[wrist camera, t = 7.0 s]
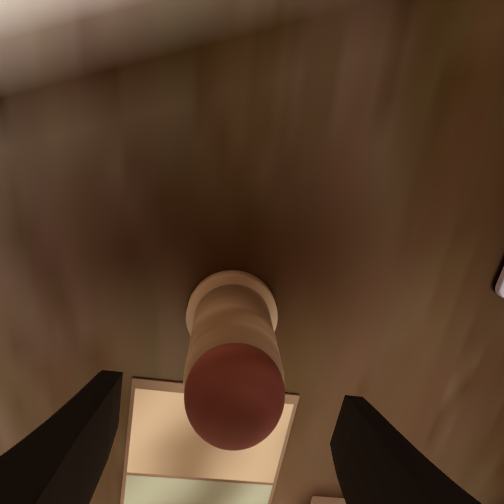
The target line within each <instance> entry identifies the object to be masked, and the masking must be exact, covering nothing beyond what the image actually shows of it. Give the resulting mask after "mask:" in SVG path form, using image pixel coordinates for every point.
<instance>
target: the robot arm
mask: <svg viewBox="0 0 504 504" xmlns="http://www.w3.org/2000/svg"><path fill="white" fill-rule="evenodd" d="M495 292H496V293H497V294H498V295H499V296H501V297H503V298H504V267H503V269H502V272H501V274H500V276H499V279H498V281H497V284H496V286H495ZM122 376H123V372H115V371H106V370H102V371H100V372H99V373H98V374H97V375H96V376H95V377H94V378H93V379H92V380H91V381H90V382H89V383H88V384H87V385H85V386H84V387H83V388H82V389H81V390H80V391H79V392H78V393H77V394H76V395H75V396H74V397H73V398H72V399H70V400H69V401H68V402H67V403H66V404H65V405H64V406H63V407H61V408H60V409H59V410H58V411H57V412H56V413H55V414H53V415H52V416H51V417H50V418H49V419H48V420H46V421H45V422H44V423H43V424H41V425H40V426H39V427H38V428H36V429H35V430H34V431H33V432H31V433H30V434H29V435H28V436H26V437H25V438H24V439H23V440H21V441H20V442H19V443H17V444H16V445H15V446H13V447H12V448H11V449H9V450H8V451H7V452H5V453H4V454H3V455H1V456H0V504H89V503H90V500H91V498H92V496H93V493H94V491H95V489H96V486H97V484H98V482H99V479H100V477H101V475H102V472H103V470H104V467H105V465H106V463H107V460H108V457H109V454H110V451H111V448H112V445H113V441H114V438H115V435H116V431H117V428H118V422H119V410H120V399H121V387H122ZM330 446H331V451H332V456H333V461H334V465H335V470H336V474H337V478H338V481H339V484H340V487H341V490H342V493H343V496H344V499H345V502H346V504H481V503H480V502H479V501H477V500H476V499H475V498H473V497H472V496H471V495H470V494H468V493H467V492H466V491H465V490H463V489H462V488H461V487H459V486H458V485H457V484H456V483H455V482H453V481H452V480H451V479H450V478H449V477H447V476H446V475H445V474H444V473H443V472H442V471H441V470H439V469H438V468H437V467H436V466H435V465H434V464H433V463H432V462H430V461H429V460H428V459H427V458H426V457H425V456H424V455H423V454H422V453H421V452H419V451H418V450H417V449H416V448H415V447H414V446H413V445H412V444H411V443H410V442H409V441H408V440H407V439H406V438H405V437H404V436H403V435H402V434H401V433H400V432H398V431H397V430H396V429H395V428H394V427H393V426H392V425H391V424H390V423H389V422H388V421H387V420H386V419H385V418H384V417H383V416H382V415H381V414H380V413H379V412H378V411H377V410H376V409H375V408H374V407H373V406H372V405H371V404H370V403H369V402H368V401H366V400H365V399H364V398H363V397H358V396H348V395H345V397H344V400H343V403H342V407H341V410H340V413H339V416H338V420H337V423H336V426H335V429H334V433H333V436H332V439H331V442H330Z"/></svg>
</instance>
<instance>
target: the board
mask: <svg viewBox="0 0 504 504" xmlns="http://www.w3.org/2000/svg"><path fill="white" fill-rule="evenodd" d="M299 396H300V395H299V394H289V393H285V403H284V408H283V412H282V415H281V418H280V420H279V422H278V424H277V426H276V427H275V429H274V430H273V431H272V432H271V434H270V435H269V436H268V437H267V438H266V439H264V440H263V441H262V442H260V443H259V444H257V445H255V446H253V447H251V448H248V449H244V450H237V451H229V450H223V449H219V448H217V447H214V446H212V445H210V444H209V443H207V442H206V441H204V440H203V439H202V438H201V437H200V436H199V435H198V434H197V433H196V432H195V430H194V429H193V427H192V426H191V424H190V422H189V420H188V417H187V414H186V411H185V405H184V385H183V382H174V381H165V380H155V379H146V378H136V377H133V378H132V386H131V397H130V407H129V418H128V428H127V439H126V449H125V459H124V470H123V480H122V491H121V501H120V504H271V502H272V498H273V494H274V490H275V487H276V483H277V479H278V475H279V472H280V468H281V464H282V460H283V456H284V453H285V449H286V445H287V441H288V438H289V434H290V430H291V426H292V423H293V419H294V415H295V411H296V408H297V404H298V400H299Z"/></svg>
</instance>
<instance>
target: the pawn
mask: <svg viewBox="0 0 504 504" xmlns="http://www.w3.org/2000/svg"><path fill="white" fill-rule="evenodd" d="M277 320H278V312H277V307H276V304H275V300H274V297H273V295H272V292H271V291H270V289H269V287H268V286H267V285H266V284H265V283H264V282H263V281H262V280H261V279H259V278H258V277H256V276H254V275H252V274H250V273H247V272H244V271H239V270H226V271H221V272H217V273H214V274H212V275H210V276H208V277H207V278H205V279H204V280H202V281H201V282H200V283H199V284H198V285H197V286H196V288H195V289H194V290H193V292H192V294H191V296H190V299H189V303H188V307H187V312H186V325H187V329H188V332H189V334H190V336H191V337H190V343H189V349H188V354H187V360H186V365H185V371H184V377H183V385H184V405H185V411H186V414H187V417H188V420H189V422H190V424H191V426H192V427H193V429H194V430H195V432H196V433H197V434H198V435H199V436H200V437H201V438H202V439H203V440H204V441H206V442H207V443H209V444H210V445H212V446H214V447H217V448H219V449H223V450H229V451H237V450H244V449H248V448H251V447H253V446H255V445H257V444H259V443H260V442H262V441H263V440H264V439H266V438H267V437H268V436H269V435H270V434H271V432H272V431H273V430H274V429H275V427H276V426H277V424H278V422H279V420H280V418H281V415H282V412H283V408H284V403H285V389H284V370H283V366H282V362H281V358H280V353H279V349H278V345H277V341H276V337H275V333H274V332H275V329H276V326H277Z"/></svg>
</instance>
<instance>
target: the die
mask: <svg viewBox="0 0 504 504" xmlns="http://www.w3.org/2000/svg"><path fill="white" fill-rule="evenodd" d="M310 504H346V502H345V499H344V498H334V497H320V496H312V499H311V502H310Z"/></svg>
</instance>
